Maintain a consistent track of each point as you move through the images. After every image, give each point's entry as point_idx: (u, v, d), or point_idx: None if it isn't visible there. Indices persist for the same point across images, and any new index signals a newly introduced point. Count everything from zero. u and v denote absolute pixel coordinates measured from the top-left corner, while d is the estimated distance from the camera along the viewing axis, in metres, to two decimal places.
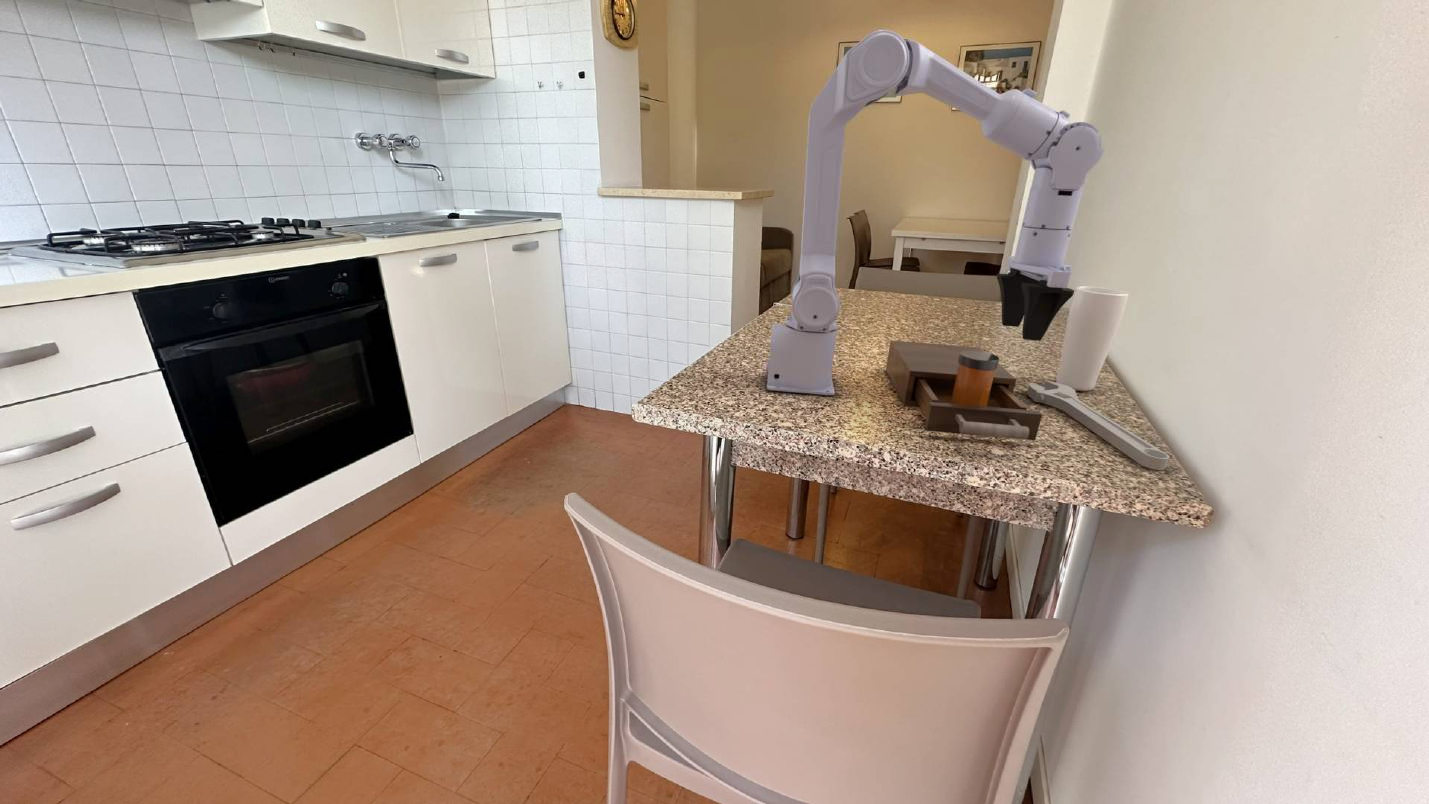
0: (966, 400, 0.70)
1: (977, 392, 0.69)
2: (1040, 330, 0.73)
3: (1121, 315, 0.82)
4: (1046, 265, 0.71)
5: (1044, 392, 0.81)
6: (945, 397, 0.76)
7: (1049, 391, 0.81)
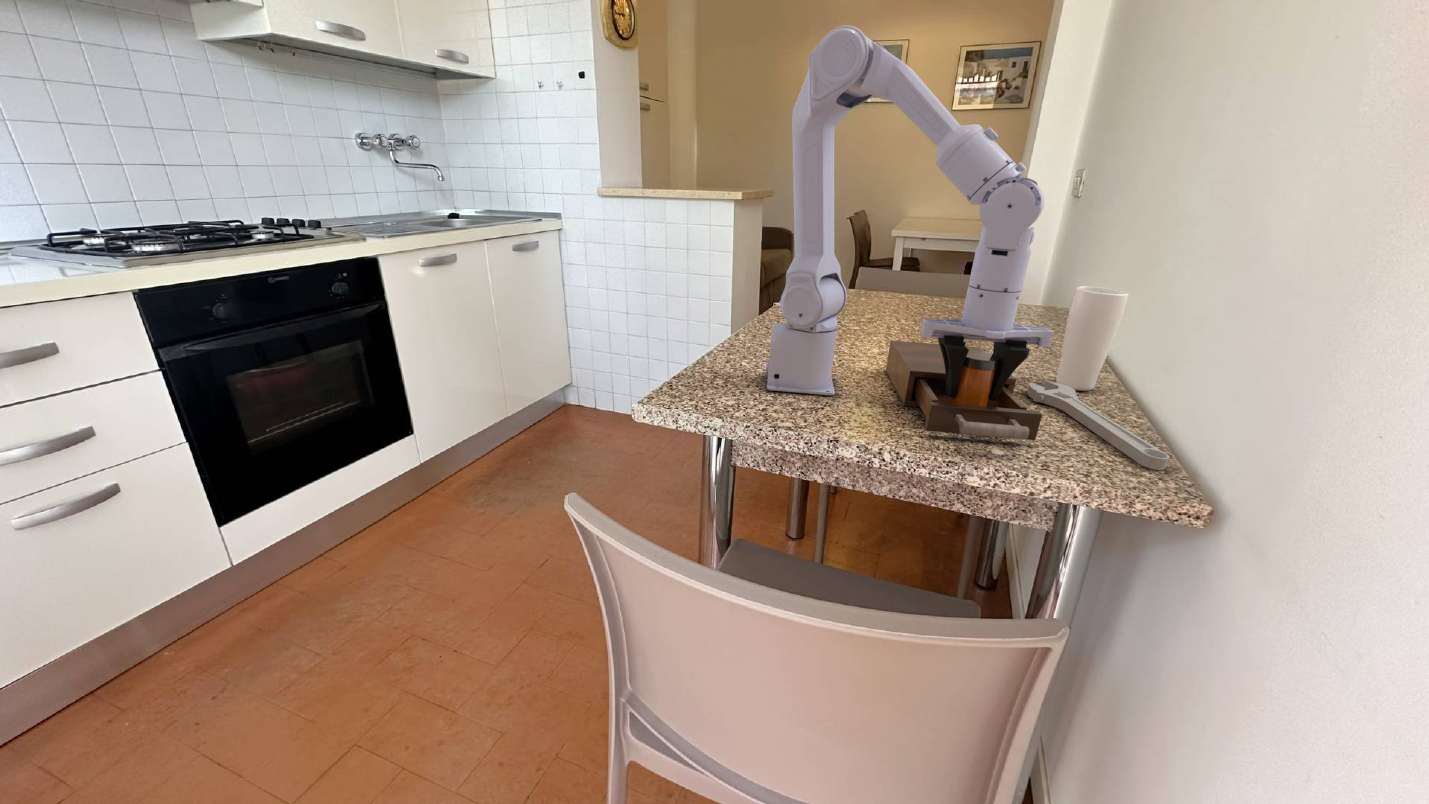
0: (966, 400, 0.70)
1: (978, 392, 0.69)
2: (949, 385, 0.71)
3: (1121, 315, 0.82)
4: (961, 321, 0.69)
5: (1044, 392, 0.81)
6: (945, 397, 0.76)
7: (1049, 391, 0.81)
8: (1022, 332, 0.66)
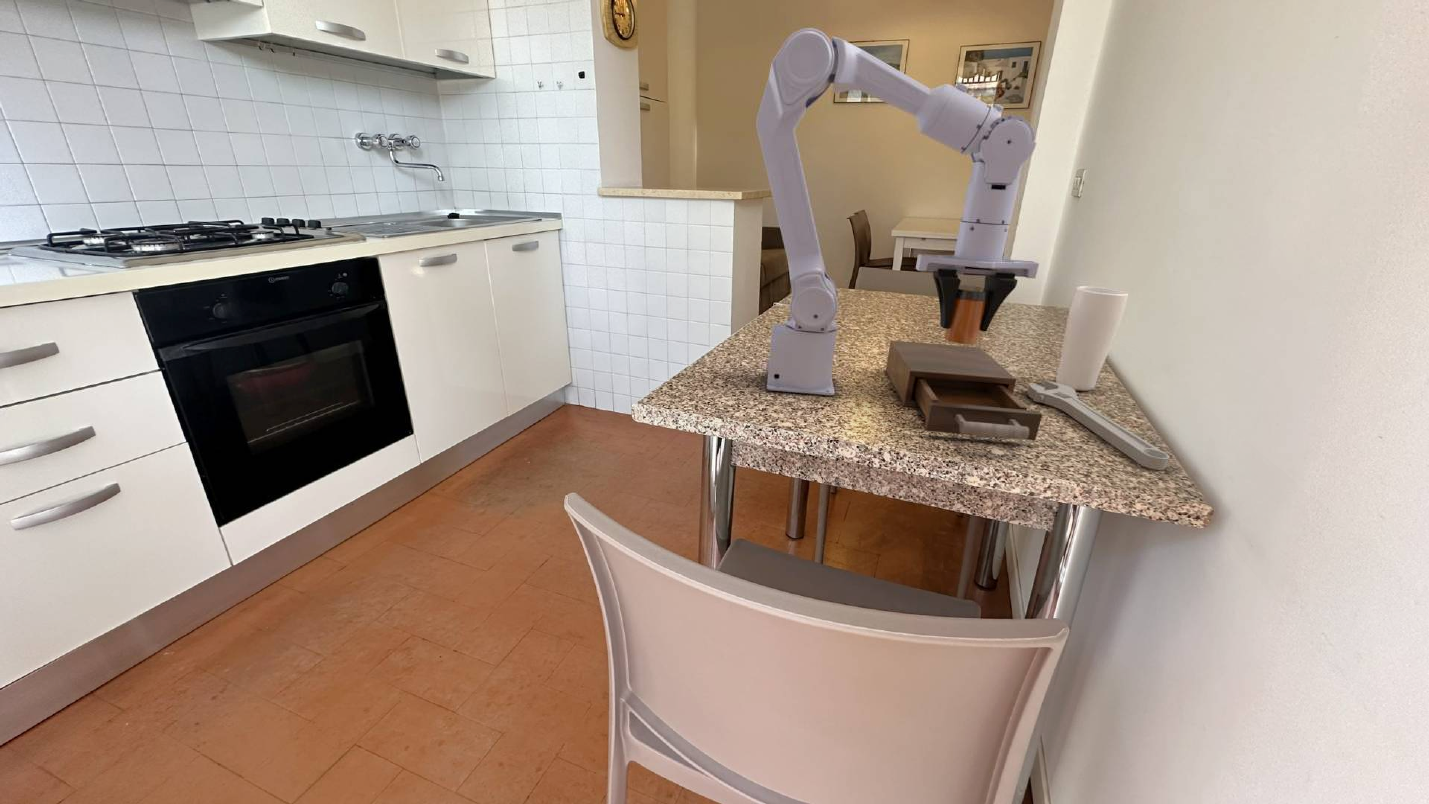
0: (959, 330, 0.75)
1: (969, 322, 0.74)
2: (943, 317, 0.76)
3: (1121, 315, 0.82)
4: (954, 256, 0.74)
5: (1044, 392, 0.81)
6: (945, 397, 0.76)
7: (1049, 391, 0.81)
8: (1010, 263, 0.71)
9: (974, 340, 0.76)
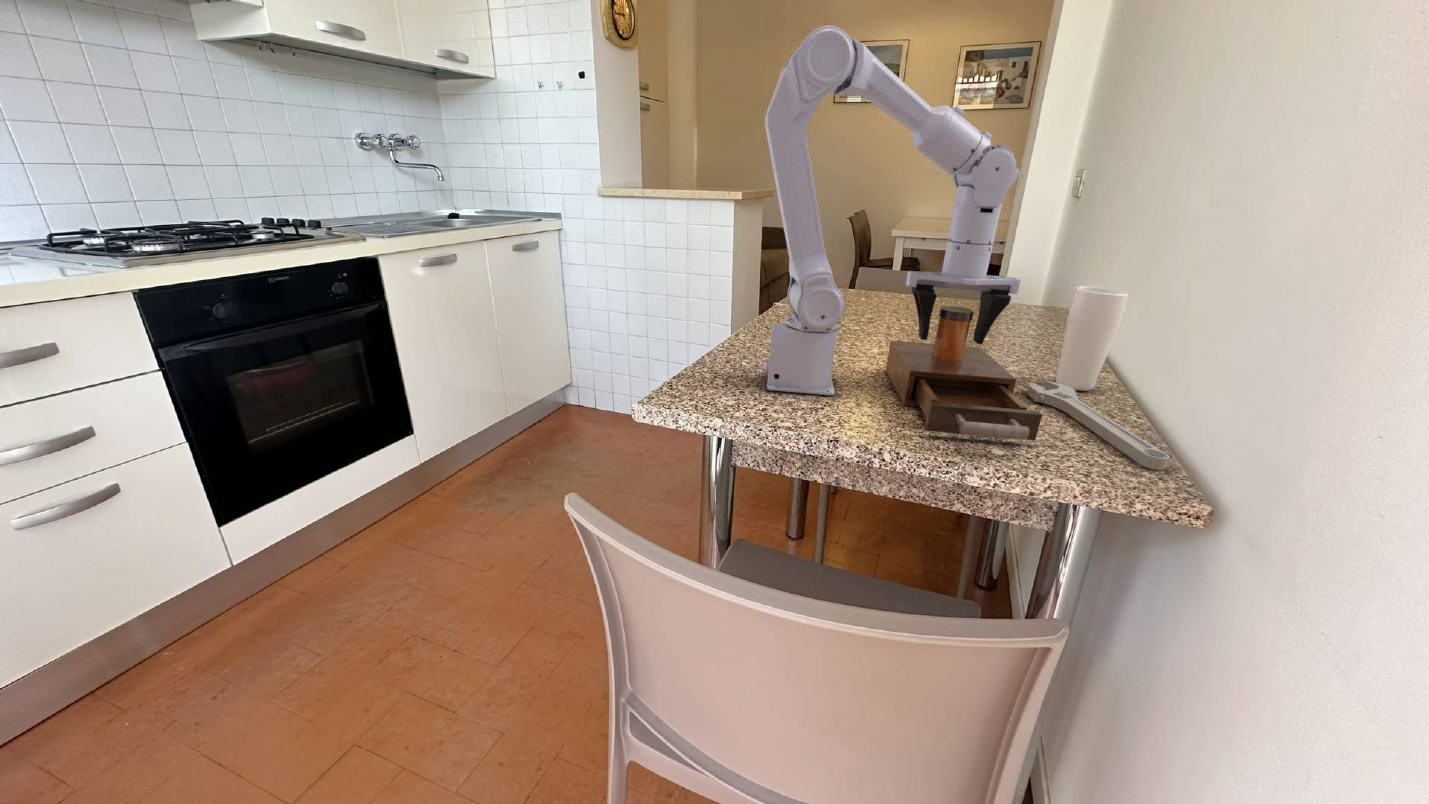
0: (945, 348, 0.81)
1: (955, 341, 0.80)
2: (921, 329, 0.81)
3: (1121, 315, 0.82)
4: (942, 273, 0.79)
5: (1044, 392, 0.81)
6: (945, 397, 0.76)
7: (1049, 391, 0.81)
8: (994, 280, 0.76)
9: (959, 357, 0.81)
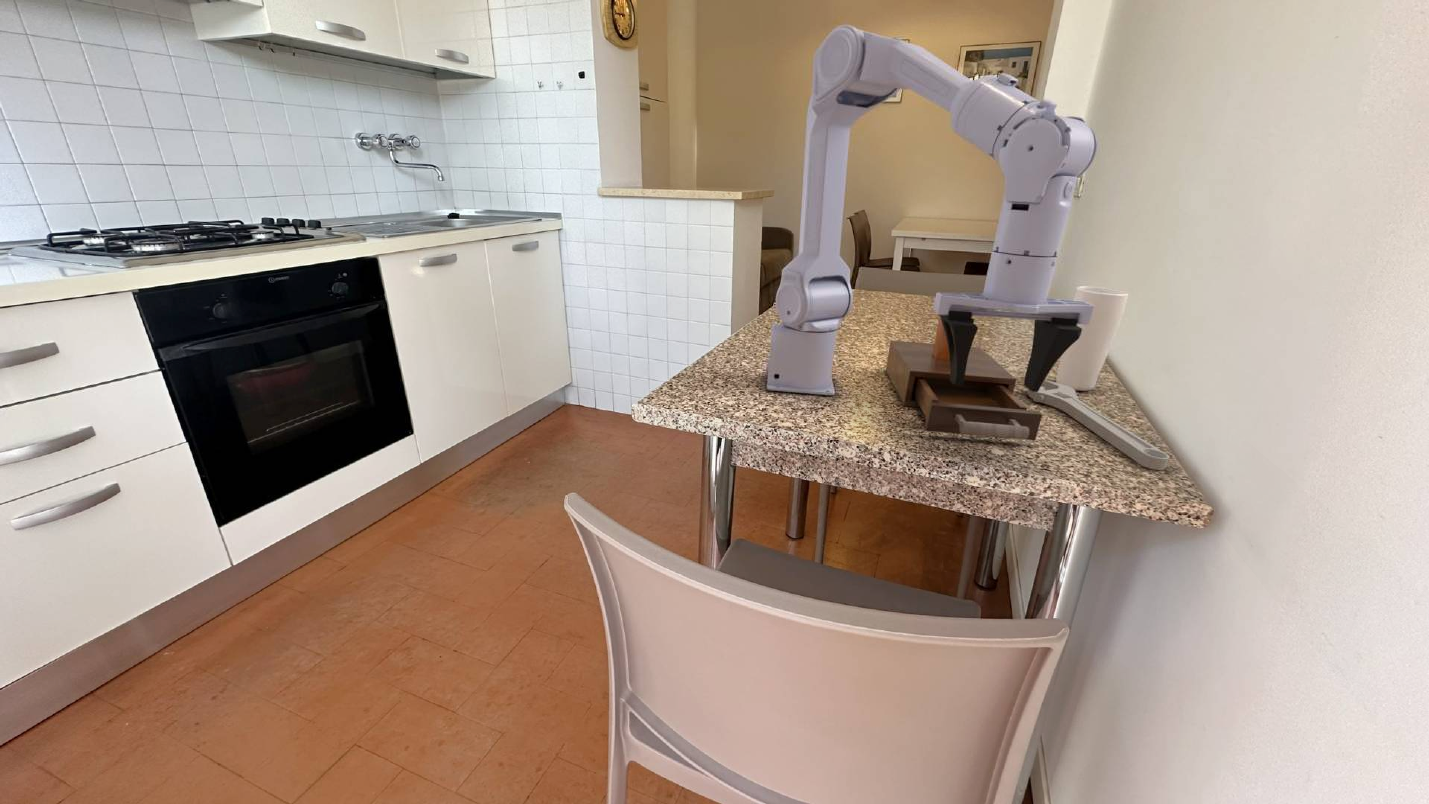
0: (945, 348, 0.81)
1: None
2: (955, 371, 0.60)
3: (1121, 315, 0.82)
4: (983, 295, 0.57)
5: (1044, 392, 0.81)
6: (945, 397, 0.76)
7: (1049, 391, 0.81)
8: (1058, 306, 0.55)
9: None
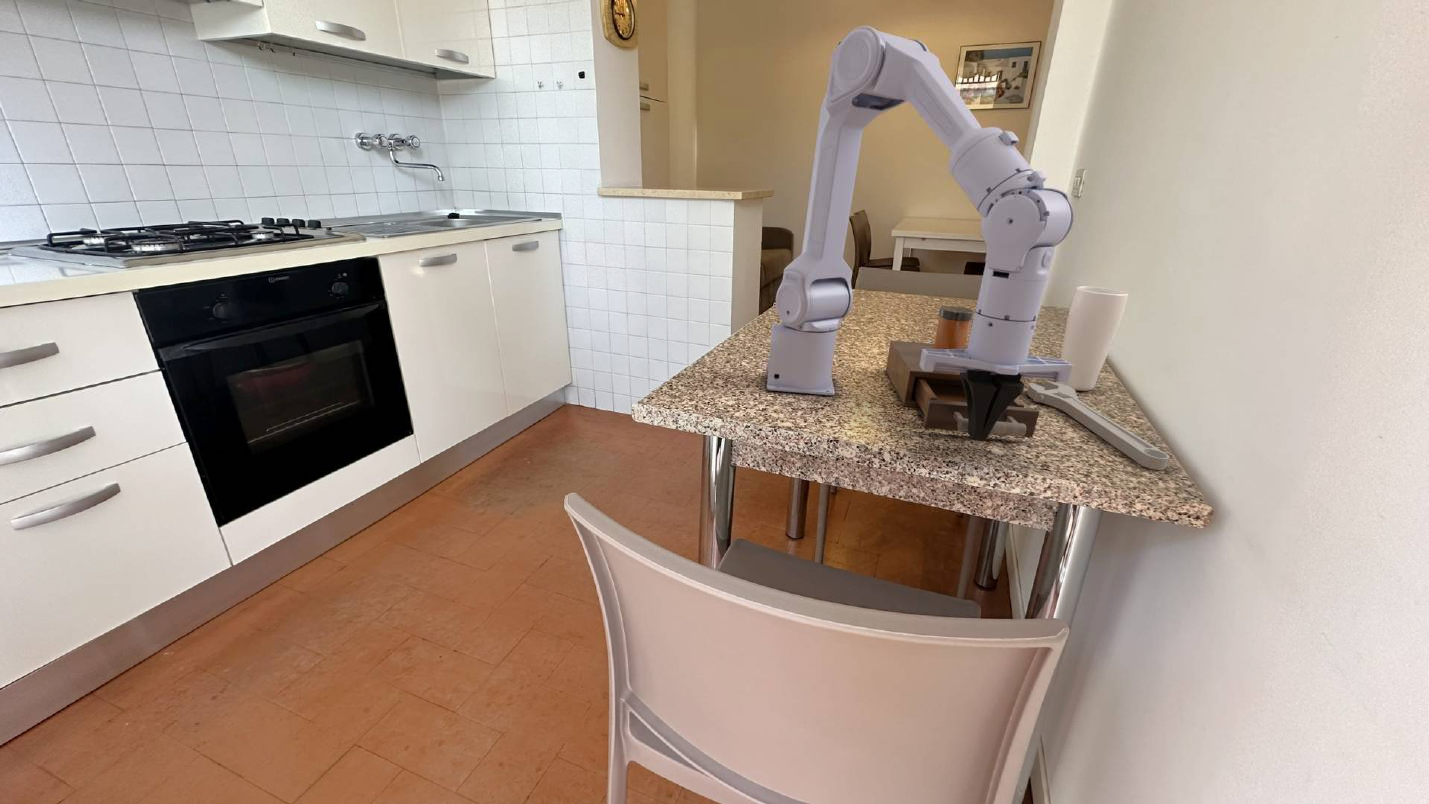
0: (945, 348, 0.81)
1: (955, 341, 0.80)
2: (973, 426, 0.62)
3: (1121, 315, 0.82)
4: (967, 353, 0.60)
5: (1044, 392, 0.81)
6: (943, 395, 0.76)
7: (1049, 391, 0.81)
8: (1038, 366, 0.57)
9: None
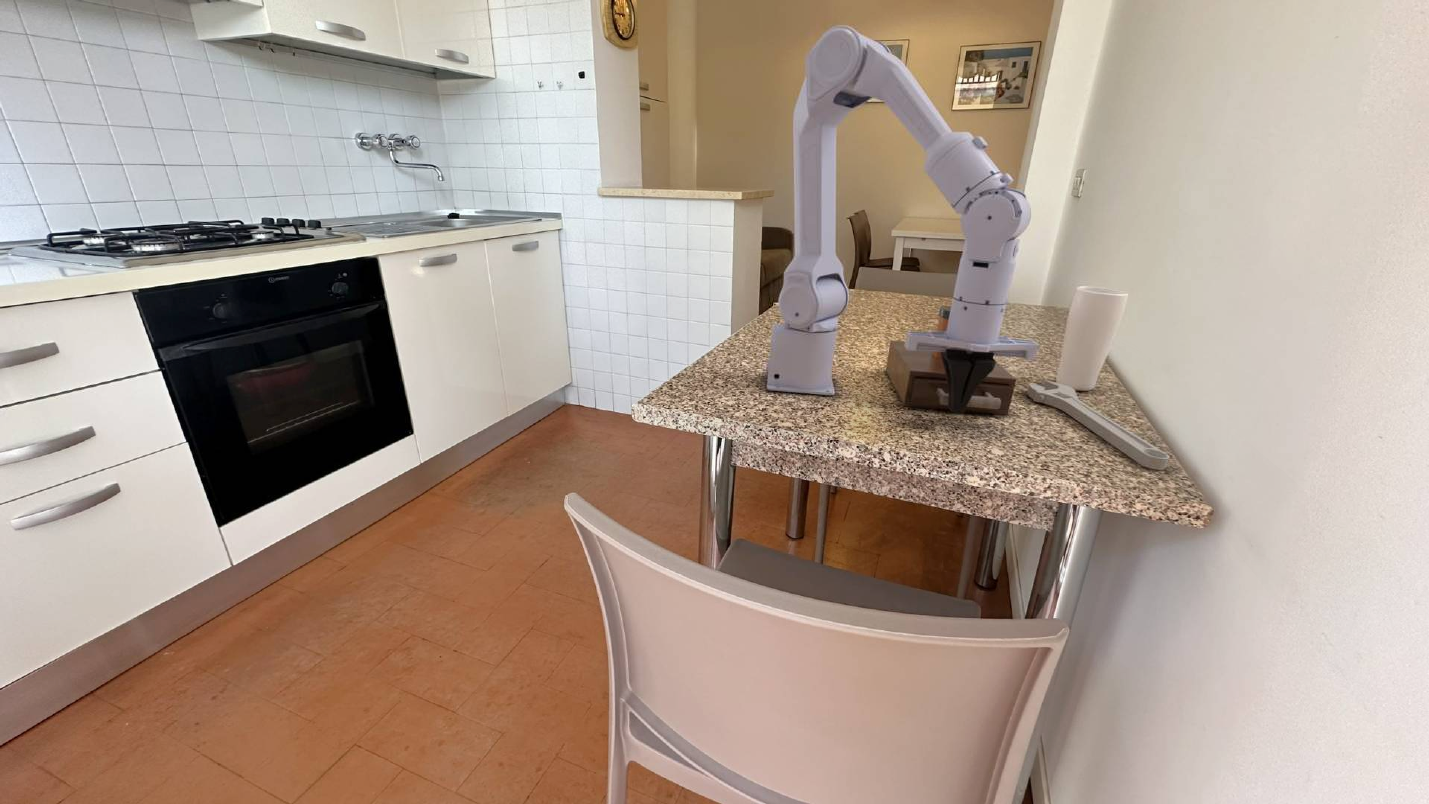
0: None
1: None
2: (952, 400, 0.70)
3: (1121, 315, 0.82)
4: (946, 334, 0.68)
5: (1044, 392, 0.81)
6: None
7: (1049, 391, 0.81)
8: (1007, 345, 0.65)
9: None
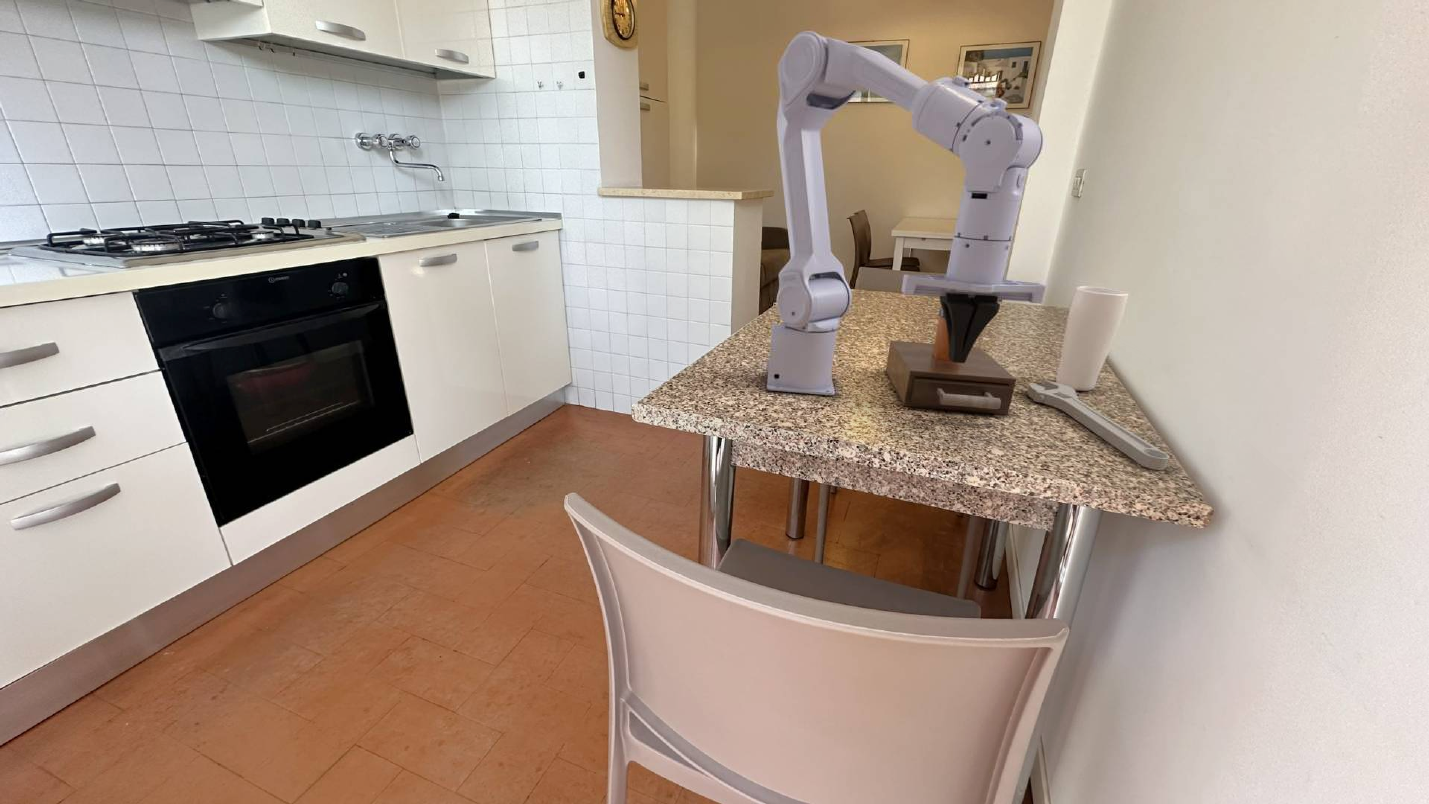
0: (945, 348, 0.81)
1: None
2: (952, 349, 0.65)
3: (1121, 315, 0.82)
4: (946, 277, 0.63)
5: (1044, 392, 0.81)
6: None
7: (1049, 391, 0.81)
8: (1012, 286, 0.60)
9: None
